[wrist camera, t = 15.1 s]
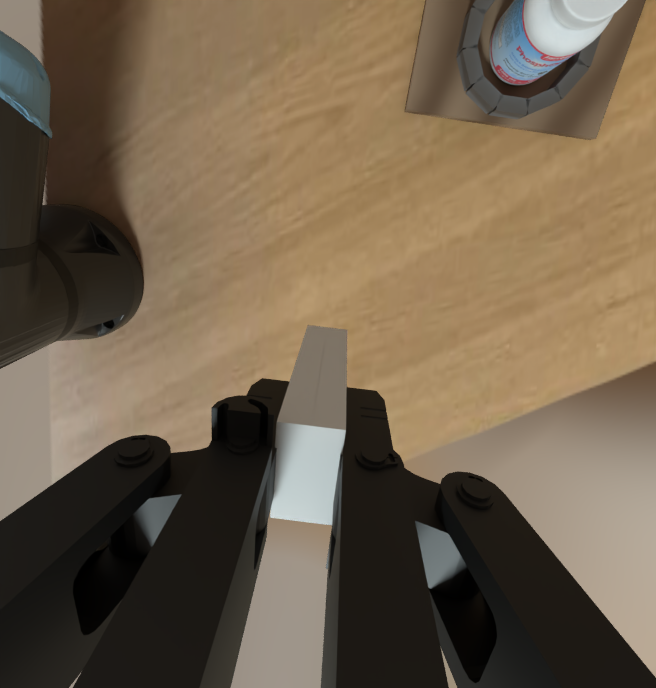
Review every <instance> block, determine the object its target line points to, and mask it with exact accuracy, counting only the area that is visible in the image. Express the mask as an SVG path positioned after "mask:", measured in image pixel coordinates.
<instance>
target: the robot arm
mask: <svg viewBox="0 0 656 688" xmlns="http://www.w3.org/2000/svg"><path fill="white" fill-rule="evenodd" d="M50 92H51V87H50V81H49V77H48V75H47V72H46V71H45V69H44V67H43V66H42V64H41V63H40V61H39V60H38V59H37V58H36V57H35V56H34V55H33V54H32V53H31V52H30V51H29V50H28V49H26V48H25V47H24V46H22V45H21V44H20V43H18V42H17V41H15V40H14V39H12V38H11V37H9V36H7V35H6V34H4V33H3V32H2V31H0V369H1V368H3V367H5V366H7V365H9V364H11V363H13V362H15V361H17V360H19V359H21V358H23V357H25V356H27V355H29V354H31V353H33V352H35V351H37V350H39V349H41V348H43V347H45V346H47V345H49V344H51V343H53V342H56V341H65V340H81V339H92V338H97V337H101V336H104V335H107V334H109V333H111V332H113V331H115V330H117V329H118V328H120V327H122V326H123V325H125V324H126V323H127V322H128V321H129V320H130V319H131V318H132V317H133V316H134V314H135V313H136V311H137V309H138V307H139V305H140V302H141V298H142V293H143V277H142V272H141V267H140V264H139V261H138V258H137V256H136V254H135V252H134V250H133V248H132V247H131V245H130V243H129V242H128V240H127V239H126V238H125V237H124V235H123V234H122V233H121V232H120V231H119V230H118V229H117V228H116V227H115V226H114V225H113V224H112V223H110V222H109V221H108V220H107V219H105V218H104V217H102V216H100V215H99V214H97V213H95V212H93V211H91V210H88V209H86V208H83V207H79V206H74V205H42V203H43V193H44V184H45V174H46V165H47V155H48V145H49V138H50V139H52V131H51V129H50V128H49V118H50ZM387 419H388V418H387V412H386V406H385V401H384V399H383V398H382V397H381V396H380V395H379V393H378V392H377V391H373V390H365V389H356V388H348V387H347V330H345V329H336V328H328V327H320V326H311V325H308V326H307V329H306V333H305V336H304V339H303V342H302V345H301V348H300V351H299V354H298V357H297V360H296V363H295V367H294V370H293V373H292V376H291V379H290V382H288V381H280V380H272V379H263V378H262V379H261V380H259V381H258V382H256V383H255V384H253V385H252V386H251V388H250V390H249V391H248V393H247V396H234V397H228V398H225V399H223V400H221V401H218V402H217V403H216V404H215V405H214V406H213V407H212V441H211V443H210V445H209V446H208V447H207V448H204V449H201V450H195V451H187V452H177V453H171V451H170V446H169V445H168V443H167V441H165V440H163V439H161V438H160V437H157V436H151V435H138V436H131V437H127V438H124V439H120V440H118V441H116V442H114V443H112V444H111V445H109V446H107V447H106V448H104V449H103V450H101V451H100V452H98V453H97V454H96V455H94V456H93V457H91V458H90V459H88V460H87V461H86V462H84V463H83V464H81V465H80V466H78V467H77V468H76V469H74V470H73V471H71V472H70V473H68V474H67V475H66V476H64V477H63V478H61V479H60V480H58V481H57V482H56V483H54V484H53V485H51V486H50V487H48V488H47V489H46V490H44V491H43V492H41V493H40V494H38V495H37V496H36V497H34V498H33V499H31V500H30V501H28V502H27V503H26V504H24V505H23V506H21V507H20V508H18V509H17V510H16V511H14V512H13V513H11V514H10V515H8V516H7V517H6V518H4V519H3V520H1V521H0V688H69V687H70V685H71V684H72V683H73V682H74V680H75V679H76V678H77V677H78V675H79V674H80V673H81V674H80V676H79V678H78V679H77V681H76V683H75V685H74V687H73V688H230V687H231V683H232V679H233V675H234V671H235V666H236V662H237V658H238V654H239V649H240V646H241V641H242V637H243V633H244V629H245V625H246V621H247V616H248V612H249V608H250V604H251V599H252V596H253V591H254V587H255V583H256V579H257V575H258V571H259V566H260V562H261V558H262V554H263V550H264V546H265V541H266V537H267V522H268V517H269V513H270V509H271V514H270V517H271V518H279V519H286V520H294V521H303V522H310V523H319V524H326V525H327V524H328V525H332V531H331V537H330V544H329V551H328V558H327V564H326V569H328V577H327V594H326V610H325V611H326V612H325V627H324V628H325V629H324V644H323V662H322V678H321V688H449V687H448V682H447V677H446V672H445V667H444V662H443V658H442V652H441V649H442V651H443V653H444V656H445V658H446V661H447V663H448V666H449V668H450V671H451V673H452V675H453V678H454V680H455V683H456V685H457V688H656V678H655V676H654V675H653V674H652V673H651V672H650V670H649V669H648V668H647V667H646V665H645V664H644V663H643V662H642V660H641V659H640V658H639V657H638V656H637V654H636V653H635V652H634V651H633V650H632V648H631V647H630V646H629V645H628V643H627V642H626V641H625V640H624V639H623V637H622V636H621V635H620V634H619V633H618V631H617V630H616V629H615V628H614V627H613V625H612V624H611V623H610V622H609V620H608V619H607V618H606V617H605V616H604V614H603V613H602V612H601V611H600V610H599V608H598V607H597V606H596V605H595V603H594V602H593V601H592V600H591V598H590V597H589V596H588V595H587V594H586V592H585V591H584V590H583V589H582V587H581V586H580V585H579V584H578V583H577V581H576V580H575V579H574V578H573V577H572V575H571V574H570V573H569V572H568V571H567V569H566V568H565V567H564V566H563V564H562V563H561V562H560V561H559V560H558V559H557V557H556V556H555V555H554V553H553V552H552V551H551V550H550V549H549V547H548V546H547V545H546V544H545V542H544V541H543V540H542V539H541V538H540V536H539V535H538V534H537V533H536V532H535V530H534V529H533V528H532V527H531V525H530V524H529V523H528V522H527V521H526V519H525V518H524V517H523V516H522V515H521V514H520V512H519V511H518V510H517V508H516V507H515V506H514V505H513V504H512V502H511V501H510V500H509V499H508V497H507V496H506V495H505V494H504V493H503V492H502V491H501V490H500V489H499V488H498V487H497V486H496V485H495V484H493V483H492V482H490V481H488V480H487V479H485V478H483V477H481V476H478V475H475V474H472V473H468V472H453V473H449V474H447V475H446V476H445V477H444V478H442V481H441V484H438V483H436V482H433V481H430V480H427V479H424V478H422V477H419V476H417V475H415V474H413V473H411V472H410V471H408V470H407V469H405V468H404V464H403V462H402V459H401V457H400V455H398V454H397V453H396V452H395V451H394V450H393V446H392V440H391V435H390V429H389V423H388V420H387ZM440 646H441V647H440ZM82 670H83V671H82Z"/></svg>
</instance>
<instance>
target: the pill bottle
mask: <svg viewBox="0 0 656 688" xmlns="http://www.w3.org/2000/svg"><path fill="white" fill-rule="evenodd" d="M626 2H627V0H514V1H513V3H512V4H511V5H510V6H509V7H508V9H507V10H506V11H505V12H504V14H503V15H502V16H501V18H500V19H499V21H498V22H497V24H496V26H495V28H494V30H493V32H492V35H491V39H490V46H489V56H490V62H491V66H492V69H493V71H494V73H495V74H496V76H497V77H498V78H499V79H500V80H502V81H503V82H505V83H507V84H510V85H525V84H529V83H531V82H533V81H535V80H537V79H539V78H540V77H542V76H543V75H545V74H546V73H548V72H549V71H551V70H552V69H554V68H555V67H557V66H558V65H560V64H561V63H563V62H564V61H566V60H567V59H569V58H570V57H572V56H573V55H575V54H576V53H578V52H579V51H581V50H582V49H584V48H585V47H586V46H588V45H589V44H590V43H592V42H593V41H594V40H595V39H596V38H597V37H598V36H599V35H600V34H601V33H602V32H603V30H604V29H605V28H606V26H607V25H608V24H609V22H610V20H611V19H612V17H613V15H614V13H615V12H617V11H618V10H619V9H620V8H621V7H622V6H623V5H624V4H625V3H626Z"/></svg>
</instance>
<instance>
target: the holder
mask: <svg viewBox="0 0 656 688" xmlns="http://www.w3.org/2000/svg"><path fill="white" fill-rule="evenodd" d="M513 1H514V0H426V1H425V6H424V11H423V17H422V22H421V27H420V32H419V38H418V43H417V48H416V54H415V59H414V64H413V70H412V75H411V80H410V85H409V91H408V96H407V101H406V107H405V112H408V113H415V114H422V115H428V116H435V117H441V118H448V119H455V120H461V121H468V122H474V123H481V124H488V125H494V126H501V127H508V128H514V129H521V130H527V131H534V132H541V133H547V134H554V135H560V136H567V137H574V138H580V139H587V140H592V139H595V138H596V137H597V135H598V132H599V129H600V126H601V123H602V121H603V118H604V115H605V112H606V110H607V107H608V104H609V101H610V98H611V96H612V93H613V90H614V87H615V84H616V82H617V79H618V76H619V73H620V71H621V68H622V65H623V62H624V59H625V57H626V54H627V51H628V48H629V46H630V43H631V40H632V37H633V34H634V32H635V29H636V26H637V23H638V21H639V18H640V15H641V12H642V9H643V7H644V4H645V1H646V0H627V2H626V3H625V4H624V5H623V6H622V7H621V8H620V9H619V10H618V11H617V12H615V13H614V15H613V17H612V19H611V20H610V22H609V24H608V25H607V26H606V28H605V29H604V30H603V32H602V33H601V34H600V35H599V36H598V37H597V38H596V39H595V40H594V41H593V42H592V43H590V44H589V45H588V46H586V47H585V48H584V49H582V50H581V51H579V52H578V53H576V54H575V55H573V56H572V57H570V58H569V59H567V60H566V61H564V62H563V63H561V64H560V65H558V66H557V67H555V68H554V69H552V70H551V71H549V72H548V73H546V74H545V75H543V76H542V77H540V78H539V79H537V80H535V81H533V82H531V83H529V84H525V85H510V84H507V83H505V82H503V81H502V80H500V79H499V78H498V77H497V76H496V74H495V73H494V71H493V69H492V66H491V62H490V56H489V46H490V39H491V35H492V32H493V30H494V28H495V26H496V24H497V22H498V21H499V19H500V18H501V16H502V15H503V14H504V12H505V11H506V10H507V9H508V7H509V6H510V5H511V4H512V3H513Z"/></svg>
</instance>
